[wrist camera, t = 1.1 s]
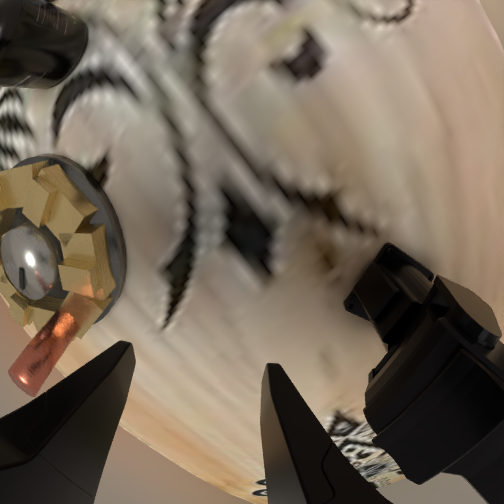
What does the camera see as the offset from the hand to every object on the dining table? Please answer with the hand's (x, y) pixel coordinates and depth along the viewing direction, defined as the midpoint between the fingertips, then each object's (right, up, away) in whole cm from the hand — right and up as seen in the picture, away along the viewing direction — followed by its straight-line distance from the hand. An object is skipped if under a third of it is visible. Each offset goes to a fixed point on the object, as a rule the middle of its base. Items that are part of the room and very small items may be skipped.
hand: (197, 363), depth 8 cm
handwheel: (-16, +4, +10) cm, 19 cm away
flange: (-16, +4, +11) cm, 20 cm away
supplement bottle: (-14, +20, +5) cm, 25 cm away
